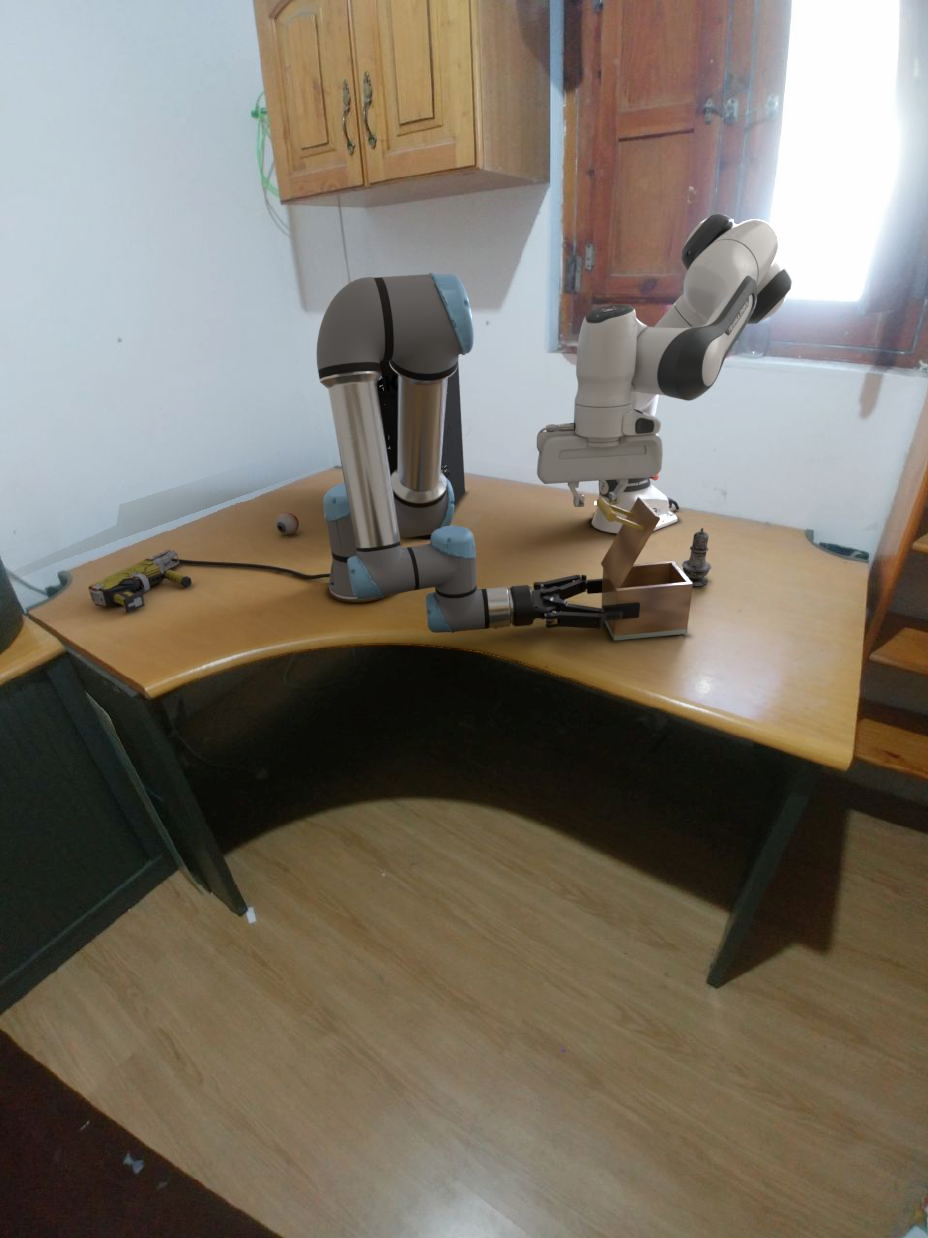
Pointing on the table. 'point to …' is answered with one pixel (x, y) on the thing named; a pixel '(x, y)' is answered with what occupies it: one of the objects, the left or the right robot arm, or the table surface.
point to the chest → (650, 601)
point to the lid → (627, 537)
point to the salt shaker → (697, 560)
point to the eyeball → (287, 523)
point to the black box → (451, 434)
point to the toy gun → (136, 582)
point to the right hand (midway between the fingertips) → (596, 504)
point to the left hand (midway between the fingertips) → (629, 596)
